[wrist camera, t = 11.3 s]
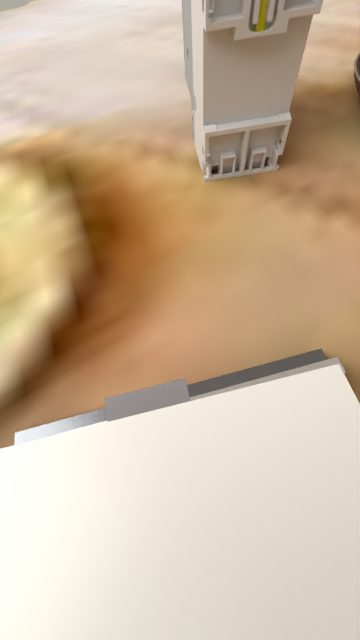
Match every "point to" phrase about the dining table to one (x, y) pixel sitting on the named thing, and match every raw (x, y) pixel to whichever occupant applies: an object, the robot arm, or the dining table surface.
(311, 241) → the dining table surface
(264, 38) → the circuit breaker
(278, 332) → the dining table surface
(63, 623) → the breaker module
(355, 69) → the plant saucer
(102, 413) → the rail plate
